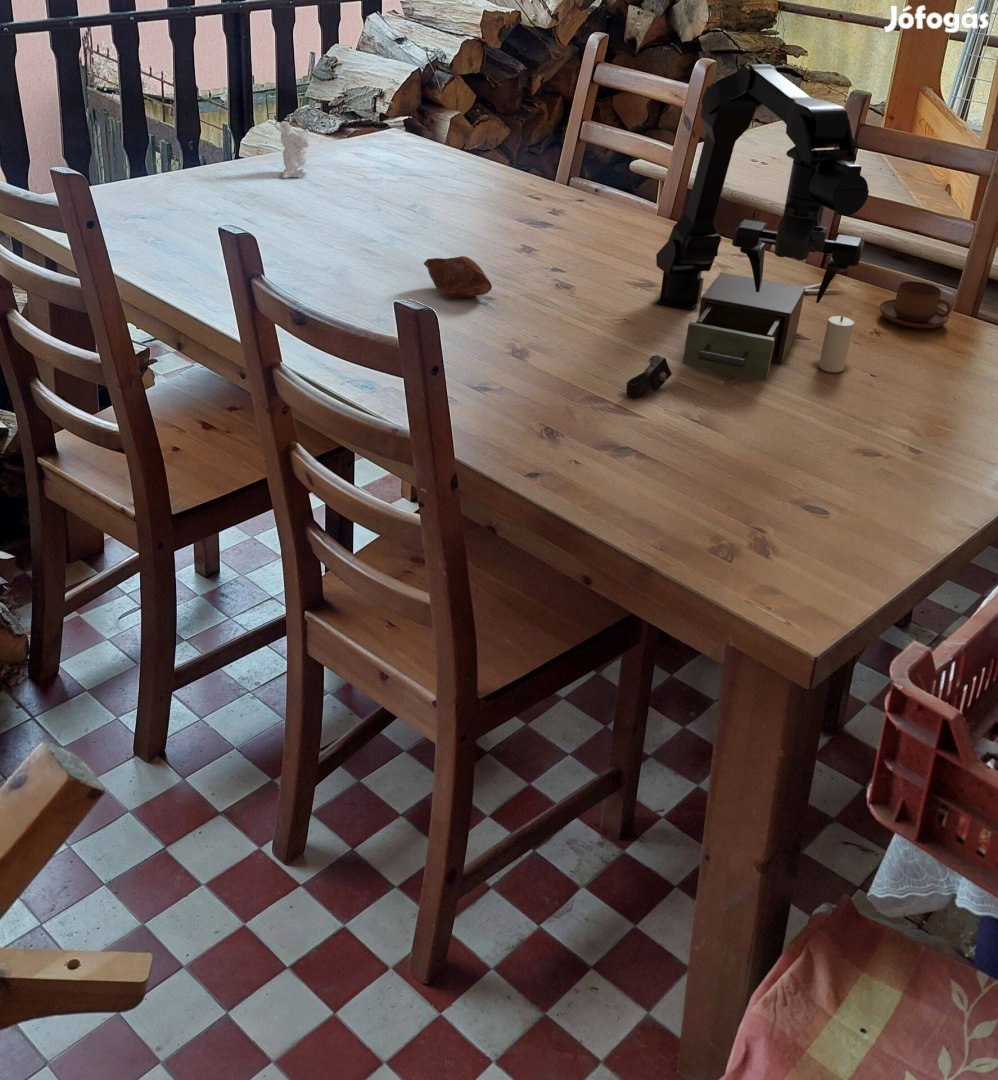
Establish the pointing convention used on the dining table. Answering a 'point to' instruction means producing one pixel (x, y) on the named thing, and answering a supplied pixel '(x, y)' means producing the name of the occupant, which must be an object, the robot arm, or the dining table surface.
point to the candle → (836, 344)
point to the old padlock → (649, 377)
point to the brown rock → (458, 277)
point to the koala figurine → (293, 149)
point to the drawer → (733, 341)
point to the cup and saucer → (916, 306)
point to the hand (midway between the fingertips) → (787, 296)
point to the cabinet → (759, 303)
